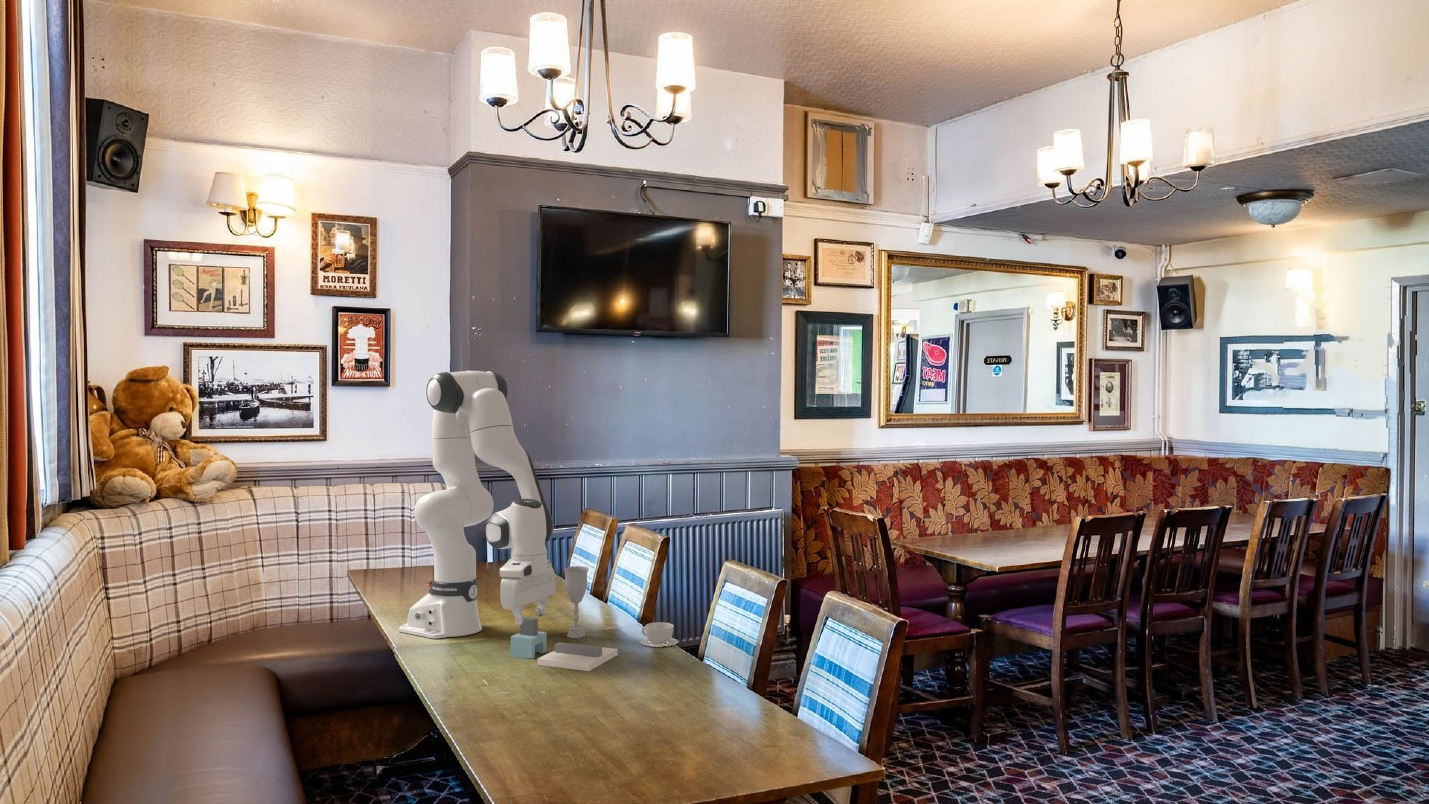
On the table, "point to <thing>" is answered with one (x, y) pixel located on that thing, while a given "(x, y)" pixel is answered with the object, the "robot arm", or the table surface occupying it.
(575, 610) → the chalice
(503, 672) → the table surface
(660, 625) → the teacup
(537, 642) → the block
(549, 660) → the cleat board
